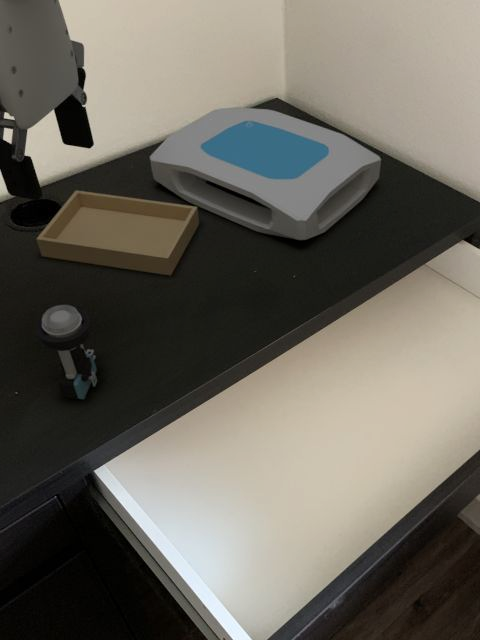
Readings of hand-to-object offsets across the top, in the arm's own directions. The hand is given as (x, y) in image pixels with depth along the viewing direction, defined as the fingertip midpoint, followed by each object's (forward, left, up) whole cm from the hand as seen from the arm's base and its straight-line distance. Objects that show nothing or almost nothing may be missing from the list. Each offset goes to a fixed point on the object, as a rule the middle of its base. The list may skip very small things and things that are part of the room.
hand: (53, 169), depth 63 cm
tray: (-5, +19, -21) cm, 29 cm away
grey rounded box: (+11, +37, -22) cm, 44 cm away
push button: (+1, -7, -22) cm, 23 cm away
